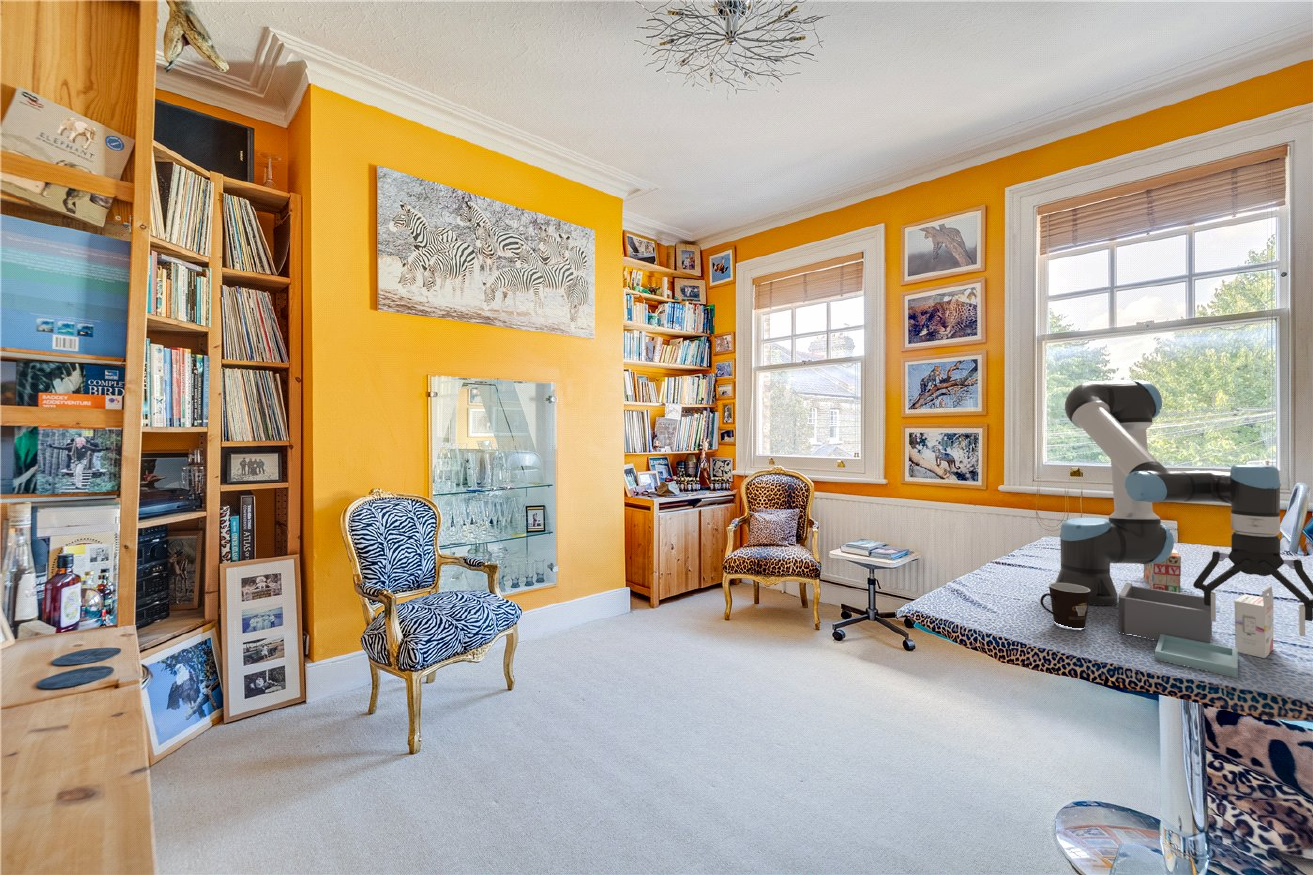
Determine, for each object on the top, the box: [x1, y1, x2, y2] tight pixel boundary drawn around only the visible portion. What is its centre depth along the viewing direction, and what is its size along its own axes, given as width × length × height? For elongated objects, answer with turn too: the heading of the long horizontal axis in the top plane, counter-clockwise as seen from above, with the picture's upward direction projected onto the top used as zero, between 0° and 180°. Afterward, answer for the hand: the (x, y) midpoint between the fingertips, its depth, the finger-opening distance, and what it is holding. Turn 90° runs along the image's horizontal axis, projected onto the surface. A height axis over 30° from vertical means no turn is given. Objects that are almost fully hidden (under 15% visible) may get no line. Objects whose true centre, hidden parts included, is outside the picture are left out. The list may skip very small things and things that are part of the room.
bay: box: [1117, 582, 1213, 644], centre depth 137 cm, size 16×14×10 cm
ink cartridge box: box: [1233, 585, 1275, 659], centre depth 126 cm, size 9×5×15 cm, turn 123°
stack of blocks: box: [1143, 548, 1182, 593], centre depth 176 cm, size 21×6×12 cm, turn 145°
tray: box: [1154, 634, 1239, 679], centre depth 123 cm, size 13×14×2 cm
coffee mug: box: [1039, 582, 1091, 628], centre depth 144 cm, size 12×9×10 cm
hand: (1256, 627), depth 126 cm, fingers open, 13 cm apart
